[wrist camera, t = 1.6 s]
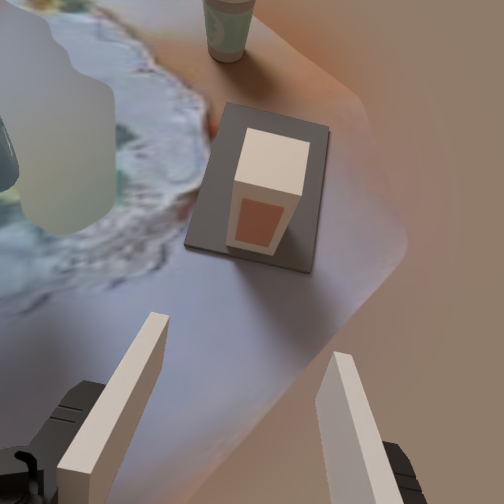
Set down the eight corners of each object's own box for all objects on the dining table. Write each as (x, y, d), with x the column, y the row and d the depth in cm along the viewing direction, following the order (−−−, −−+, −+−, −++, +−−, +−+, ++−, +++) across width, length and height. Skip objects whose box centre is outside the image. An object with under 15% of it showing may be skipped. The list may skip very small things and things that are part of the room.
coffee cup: (198, 31, 57) (196, -55, 46) (248, 34, 58) (258, -50, 47) (200, 68, 54) (199, -16, 43) (254, 70, 55) (265, -11, 44)
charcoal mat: (309, 273, 43) (310, 272, 42) (184, 245, 42) (183, 243, 41) (328, 129, 52) (329, 126, 52) (226, 104, 52) (226, 101, 51)
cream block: (272, 257, 42) (301, 197, 29) (225, 246, 42) (233, 181, 29) (280, 214, 45) (309, 142, 32) (235, 204, 44) (247, 127, 32)
